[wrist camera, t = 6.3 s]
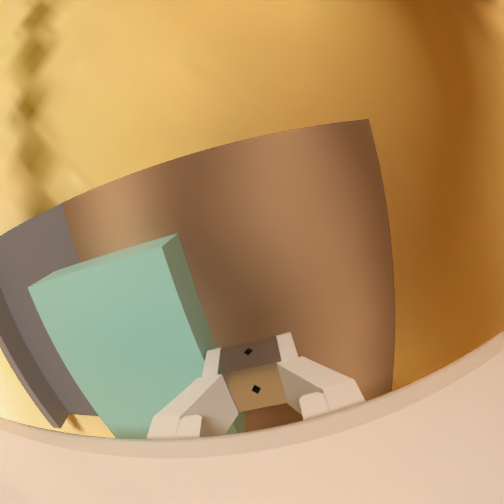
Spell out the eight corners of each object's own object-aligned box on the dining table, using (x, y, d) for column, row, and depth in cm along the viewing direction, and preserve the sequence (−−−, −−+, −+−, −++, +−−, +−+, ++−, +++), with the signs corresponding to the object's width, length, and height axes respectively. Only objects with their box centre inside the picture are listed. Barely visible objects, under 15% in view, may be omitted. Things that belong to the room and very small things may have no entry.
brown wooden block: (334, 134, 12) (368, 119, 9) (366, 365, 16) (389, 405, 12) (105, 195, 13) (61, 203, 9) (188, 404, 16) (179, 449, 12)
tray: (95, 189, 13) (71, 192, 10) (184, 410, 16) (178, 435, 14) (-16, 246, 13) (-37, 254, 11) (64, 409, 17) (53, 427, 15)
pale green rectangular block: (177, 233, 9) (161, 246, 7) (244, 415, 12) (245, 446, 10) (55, 271, 10) (27, 287, 8) (137, 424, 12) (127, 450, 10)
